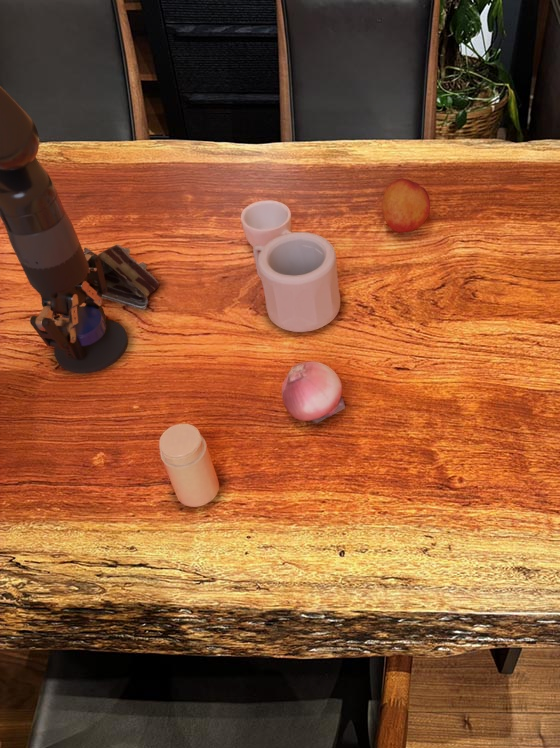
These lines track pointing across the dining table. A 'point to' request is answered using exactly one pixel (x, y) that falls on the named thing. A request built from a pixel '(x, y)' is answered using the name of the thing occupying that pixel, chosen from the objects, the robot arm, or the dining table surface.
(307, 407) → the onion
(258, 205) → the teacup
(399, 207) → the fruit
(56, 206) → the robot arm
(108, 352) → the trivet
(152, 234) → the dining table surface
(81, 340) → the jar lid
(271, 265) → the mug
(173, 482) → the jar
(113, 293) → the chocolate cake
